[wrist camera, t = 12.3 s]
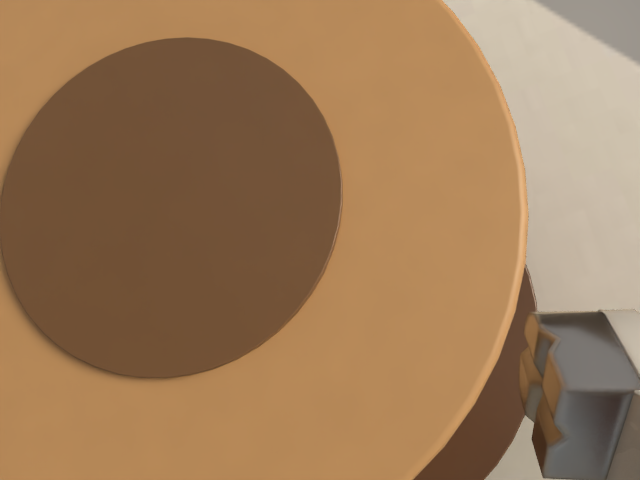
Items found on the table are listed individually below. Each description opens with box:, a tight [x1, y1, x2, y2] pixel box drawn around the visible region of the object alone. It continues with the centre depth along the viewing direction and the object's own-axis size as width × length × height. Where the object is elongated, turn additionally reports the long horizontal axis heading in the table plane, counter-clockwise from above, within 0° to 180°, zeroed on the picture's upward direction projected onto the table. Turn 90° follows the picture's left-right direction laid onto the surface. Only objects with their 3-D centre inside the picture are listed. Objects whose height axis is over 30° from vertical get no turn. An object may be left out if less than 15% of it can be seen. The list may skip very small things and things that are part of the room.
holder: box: [413, 263, 537, 480], centre depth 20 cm, size 14×14×2 cm
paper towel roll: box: [0, 0, 528, 480], centre depth 12 cm, size 6×7×14 cm
